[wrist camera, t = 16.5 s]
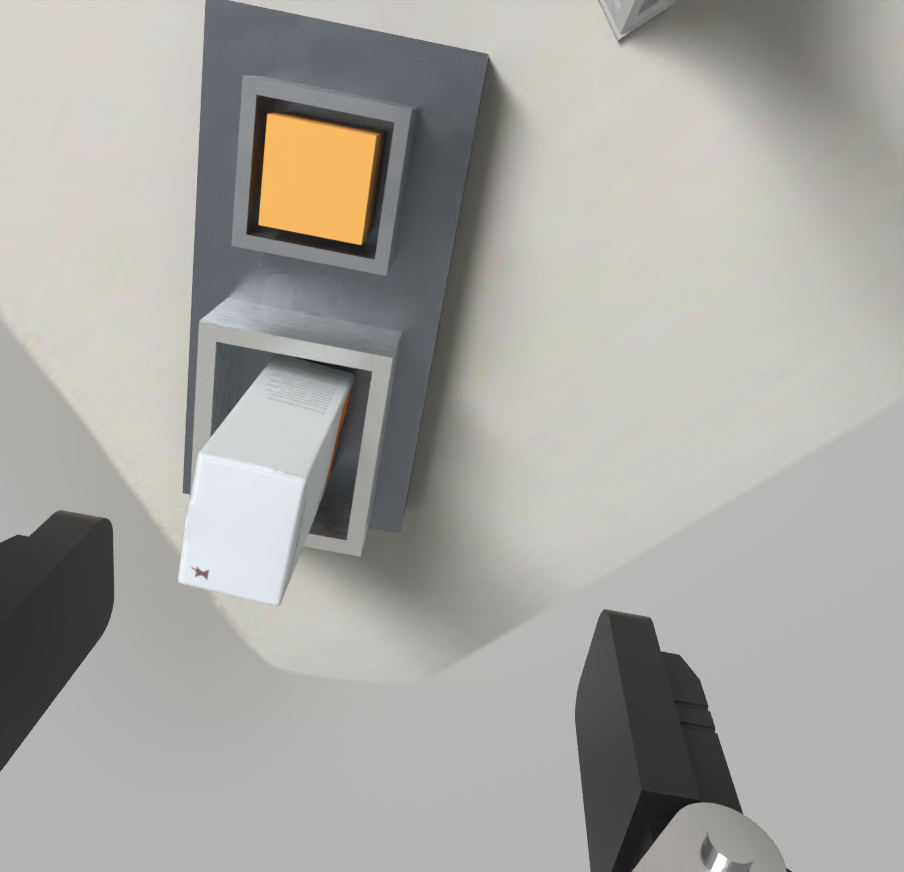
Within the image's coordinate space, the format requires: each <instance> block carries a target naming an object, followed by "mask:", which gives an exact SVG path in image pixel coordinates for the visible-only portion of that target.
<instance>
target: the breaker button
mask: <svg viewBox="0 0 904 872" xmlns="http://www.w3.org/2000/svg"><path fill="white" fill-rule="evenodd" d="M384 137H385V132H384V131H379V130H374V129H369V128H365V127H360V126H355V125H350V124H345V123H340V122H335V121H330V120H325V119H320V118H315V117H310V116H305V115H300V114H295V113H290V112H278V113H270V114H267V124H266V136H265V149H264V161H263V174H262V187H261V199H260V212H259V224H258V225H261V226H266V227H272V228H277V229H282V230H287V231H292V232H297V233H302V234H307V235H312V236H318V237H323V238H328V239H333V240H338V241H343V242H348V243H353V244H358V245H362V244H363V242H364V241H365V240H366V239H367V237H368V236H369V235H370V234H371V230H372V223H373V216H374V209H375V202H376V195H377V187H378V180H379V173H380V166H381V159H382V152H383V145H384Z"/></svg>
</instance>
